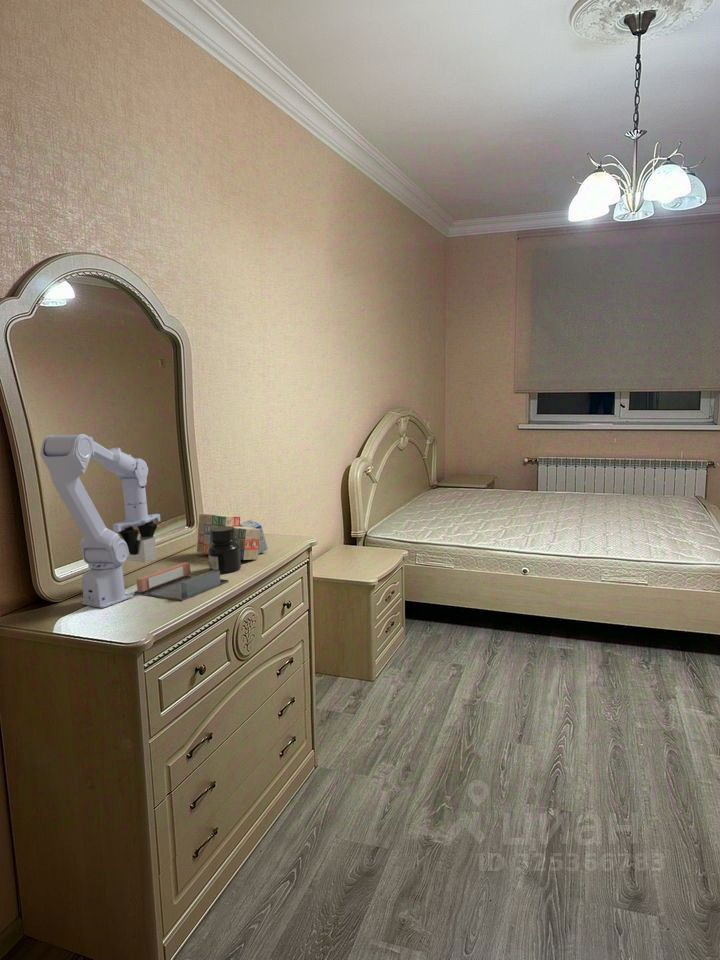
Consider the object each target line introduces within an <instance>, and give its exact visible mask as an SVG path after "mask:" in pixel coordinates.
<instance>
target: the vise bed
mask: <svg viewBox="0 0 720 960" xmlns="http://www.w3.org/2000/svg"><path fill="white" fill-rule="evenodd" d="M226 583H229V580H228V579H223V578H222V579H221V573H220V570H212V571H210V570H209V571H206V572H204V573H202V574H199V575H194V574H189V575H187V576H184V577H181V578H178V579H176V580H173V581H170V582H168V583H165V584H162V585H160V586H157V587H154V588H151V589H149V590H146V591H143V592H142V591H137V590H135V591H134V593H135V594H138V595H142V596H149V597H155V598H161V599H166V600H172V601H179V602H184V601H185V600H188V599H191V598H194V597H196V596H198V595H200V594H203V593H206V592H208V591H210V590H213V589H215V588H218V587H220V586H222V585H225V584H226Z"/></svg>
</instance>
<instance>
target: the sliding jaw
mask: <svg viewBox="0 0 720 960" xmlns="http://www.w3.org/2000/svg"><path fill="white" fill-rule="evenodd" d="M191 573H192V572H191V562H186V561H184V562H181V563H178V564H175V565H173V566H168V567H167V568H163V569H160V570H157V571H155V572H151V573H149V574H146V575H143V576H141V577H138V578H136V579H135V581H136V589H137V590H136V591H142V592H143V591H146V590H149V589H151V588H154V587H157V586H160V585H162V584H165V583H168V582H170V581H173V580H176V579H178V578H181V577H184V576H187V575H192V574H191Z"/></svg>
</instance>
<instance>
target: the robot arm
mask: <svg viewBox="0 0 720 960" xmlns="http://www.w3.org/2000/svg"><path fill="white" fill-rule="evenodd" d="M39 455H40V457H41V459H42V461H43V462H44V465H45V466H46V468H47V469H48V472H49V475H50V478H51V482H52V485H53V486H54V488H55V490H56V492H57V493H58V495H59V496H60V498H61V500H62V502H63V504H64V505H65V507H66V509H67V510H68V512H69V514H70V517H72V519H73V520H74V522H75V524H76V526H77V528H78V529H79V531H80V533H81V534H82V538H81V539H80V541H79V544H78V547H79V548H80V551H81V556H82V559H83V561H84V562H85V563H86V564H88V568H90V569H89V570H88V571H86V572H84V573H83V574H82V577H81V587H82V597H83V601H82V602H81V604H82V605H84V606H90V607H94V608H100V609H105V608H106V607H110V606H112V605H115V604H118V603H120V602H123V601H125V600H128V599H132V598H133V597H134V595H133V594H130V593H126V589H125V580H124V579H125V578H124V570H123V565H125V562H126V561H127V560H126V559H127V557H128V550H129V552H130V555H137V537H138V536H148V537H154V535H155V532H156V531H157V528H158V526H157V525H158V524H157V523H155V522H161V514H160V513H154V514H153V513H152V514H149V512H148V502H147V500H148V499H147V493H146V485H147V482H148V480H147V479H148V478H147V477H148V475H149V467H148V465H147V463H146V461H145V460H143V458H136V457H135V458H134V457H133V456H132V455H131V454H129V453H125V452H123V451H122V449H121V448H120V447H113V448H112V447H111V448H109V449H108V448H105V446H102V445H101V444H99V443H97V442H96V441H94V439H93V437H92V436H89V435H88V434H85V433H79V434H67V435H66V434H64V435H63V434H59V435H54V434H48V435H46V436H45V437H44V439H43V441H42V443H41V448H40V454H39ZM91 459H92V460H95V461H96V462H99V463H100V464H101V466H102V468H103V469H105V470H106V471H109V472H111V473H113V474H115V475H116V477H117V479H118V480H121V485H122V494H123V496H122V498H123V505H124V506H123V507H124V515H125V519H124V520H121V521H119V522H115V523H112V530H111V529H110V528H108V527H107V526H106V525H105V523H104V521H103V519H102V517H101V515H100V513H99V512H98V510H97V507H96V506H95V504H94V502H93V500H92V499H91V498H90V496H89V493H88V491H87V490H86V488H85V486H84V484H83V483H82V481H81V478H80V477H81V476H82V475H84V474H85V473H86V470H87V467H88V465H89V462H90V460H91ZM135 528H137V529H135ZM120 536H121V537H120ZM123 539H124V540H123Z"/></svg>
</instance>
